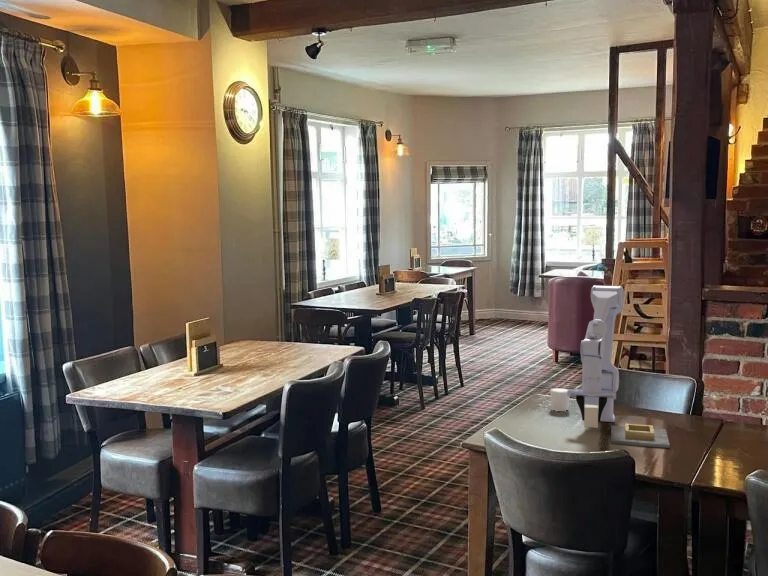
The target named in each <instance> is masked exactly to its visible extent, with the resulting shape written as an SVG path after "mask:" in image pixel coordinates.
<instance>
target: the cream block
mask: <svg viewBox="0 0 768 576" xmlns="http://www.w3.org/2000/svg"><path fill="white" fill-rule="evenodd" d="M583 422H584V428H597V429H598V427H599V421H598V405H585V413H584V420H583Z"/></svg>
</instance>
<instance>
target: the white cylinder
mask: <svg viewBox="0 0 768 576" xmlns="http://www.w3.org/2000/svg"><path fill="white" fill-rule="evenodd" d="M568 389H569V388H563V387H552V388H550V389H549V391H550V392H549V393H550V407H551V410H552V409H554V410H559V411H565V412H567V411H566V410H568V411H569V406H570V397H568V396H567V390H568Z"/></svg>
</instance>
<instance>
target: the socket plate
mask: <svg viewBox="0 0 768 576" xmlns="http://www.w3.org/2000/svg"><path fill="white" fill-rule="evenodd" d="M610 428H611V430H610V443H611V445H624V446H625V445H626V446H637V447H646V448H647V447H648V448H649V447H650V448H661V449H670V445H671V444H670V441H669V438H668V433H667V430H666V429H665V428H654V425H652V424H651V425H649V424H639V423H638V424H636V423H635V424H634V423H624V426H623V425H611V426H610Z"/></svg>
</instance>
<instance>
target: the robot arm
mask: <svg viewBox="0 0 768 576" xmlns="http://www.w3.org/2000/svg"><path fill="white" fill-rule="evenodd" d="M624 291H625V290H624V288H623V286H621V285H615V286H613V285H596V284H594V285H593V286H592V287H591V289H590V301H591V305H592V308H593V310H594V312H593V320H590V321H589V322H588V325H587V328H586V333H585V336H584V339H582V340H581V342H580V346H579V347H580V348H579V349H580V350H579V352H580V357H581V358H580V363H582V364H581V365H582V374H581V375H582V376H581V378H582V379H581V380H582V381H581V388H567V389H568V390H567V396H568V397H575V401H576V403H577V406H578V407H579V410H580V414H581V420H582V421H584V413H585V405H598V423H600V422H608V423H610V422H611V423H615V414H614V403H615V402H614V400H617V391H618V390H619V387H620V386H619V385H620V372H619V368H618V367H616V366H615V365H614V364H613V363H612V356H613V347H614V338H615V337H614V334H615V325H616V319H617V315H619V314H621V313H622V312H623V308H624V300H625V297H624V295H625V293H624Z"/></svg>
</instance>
